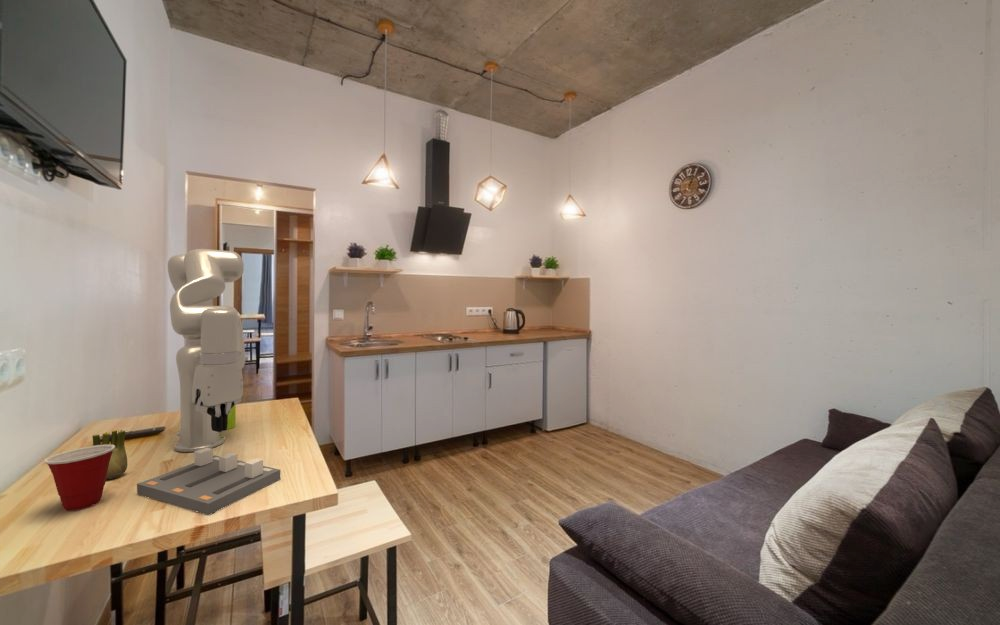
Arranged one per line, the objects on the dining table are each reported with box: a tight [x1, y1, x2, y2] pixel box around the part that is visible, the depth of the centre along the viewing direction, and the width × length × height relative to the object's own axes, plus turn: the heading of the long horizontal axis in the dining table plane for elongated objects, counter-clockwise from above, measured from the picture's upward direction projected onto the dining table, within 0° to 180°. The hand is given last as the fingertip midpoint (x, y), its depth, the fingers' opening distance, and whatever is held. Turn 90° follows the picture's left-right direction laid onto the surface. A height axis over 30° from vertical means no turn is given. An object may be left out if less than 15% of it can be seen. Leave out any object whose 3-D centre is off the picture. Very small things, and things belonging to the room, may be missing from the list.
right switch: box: [244, 457, 264, 478], centre depth 97 cm, size 2×3×4 cm
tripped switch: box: [219, 452, 238, 472], centre depth 100 cm, size 2×3×4 cm
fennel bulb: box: [92, 429, 128, 481], centre depth 100 cm, size 6×5×12 cm
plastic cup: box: [43, 444, 115, 512], centre depth 87 cm, size 11×11×12 cm
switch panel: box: [136, 454, 281, 516], centre depth 97 cm, size 24×18×3 cm
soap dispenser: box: [227, 404, 237, 430], centre depth 138 cm, size 6×7×20 cm
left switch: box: [193, 448, 214, 466], centre depth 103 cm, size 2×3×4 cm
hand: (219, 430), depth 99 cm, fingers closed
